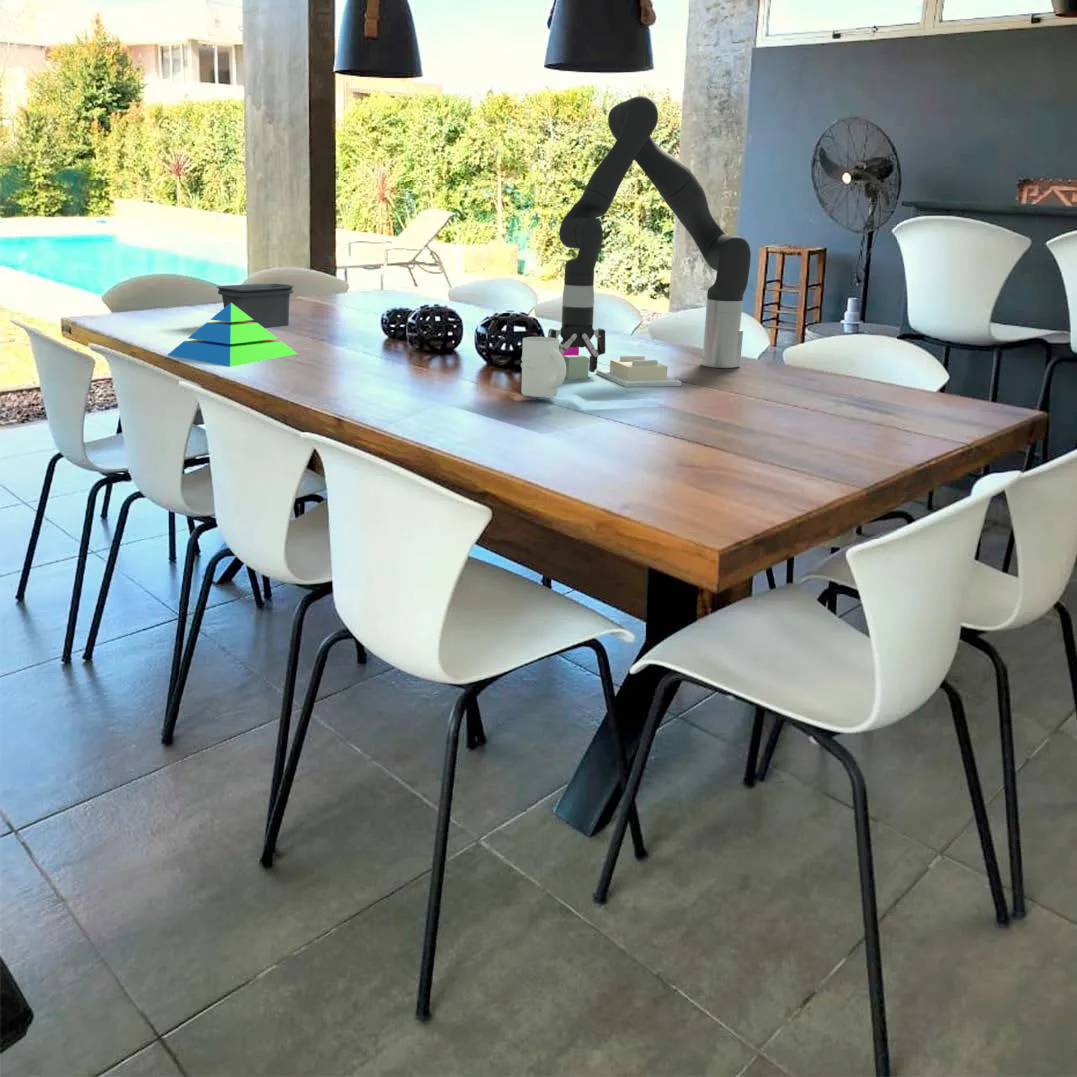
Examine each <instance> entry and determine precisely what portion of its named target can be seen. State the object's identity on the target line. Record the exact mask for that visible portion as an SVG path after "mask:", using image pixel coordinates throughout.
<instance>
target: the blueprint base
mask: <svg viewBox="0 0 1077 1077" xmlns="http://www.w3.org/2000/svg"><path fill="white" fill-rule="evenodd" d="M658 361H659V360H657V359H646V356H645V355H642V354H641V355H620V359H610V362H609V369H596V370H595V372H596V373H595V374H596V375H598V376H600V377H603V378H605V379H606V380H609V381H611V382H614V383H615V384H619V385H621V386H623V387H625V388H640V387H641V388H642V387H643V388H645V387H647V388H648V387H652V388H653V387H681V386H682V381H680V380H678V379H675V378H673V377H671V376H668V368H669V367H668V366H667V365H664V364H662V363H659V362H658Z"/></svg>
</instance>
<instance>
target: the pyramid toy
mask: <svg viewBox="0 0 1077 1077" xmlns="http://www.w3.org/2000/svg"><path fill="white" fill-rule="evenodd" d="M248 320H253V319H252V318H251V317H249V316H248V315H247V314H245V313H244V312H243V311H242V310H240V309H239V308H238V307H236V306H235V305H234V304H232V303H230V304H228V305H227V306H226V307H225V308H224V307H223V308H222V309H221V310H220V311H218V312H217V313H216V314H215V315H214V316H213V317H212V318H210V321H209V322H205V323H204V324H203V325H202V326H201V327H199V328H198V329H197V330H196V331H195V332H193V333H192V334H191V335H189V336H188V337H187V339H191V340H184V341H182V342H181V343H180V344H178V345H177V346H176V347H175V348H174V349H173V350H171V351H170V352H169V353H167V356H171V357H176V358H182V359H185V360H186V359H187V360H192V361H197V362H204V363H207V364H214V365H218V366H219V365H220V366H224V367H229V368H230V367H237V366H241V365H246V364H251V363H256V362H257V363H258V362H262V361H266V360H267V361H268V360H273V359H277V358H278V359H279V358H284V357H287V356H293V355H294V356H295V355H298V352H296V351H295V350H293V348H292V347H290V346H289V345H288V344H286V343H285V342H283V341H282V340H278V339H279V338H278V337H276V336H275V335H274V334H273V333H272V332H270V331H269V330H268V329H267V328H264V327H262V326H261V325H260V324H258V323H255V322H247V321H248Z"/></svg>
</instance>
